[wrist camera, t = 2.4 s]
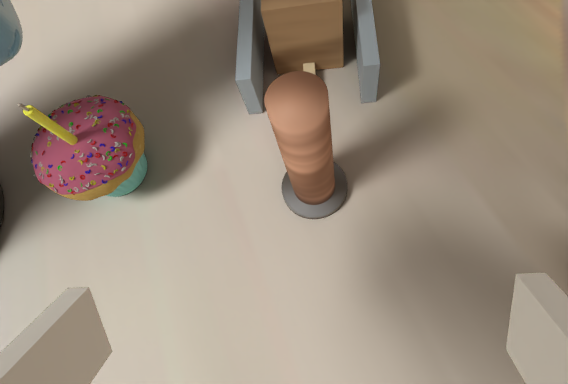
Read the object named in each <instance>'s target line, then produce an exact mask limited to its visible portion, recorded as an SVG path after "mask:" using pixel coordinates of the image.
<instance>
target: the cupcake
mask: <svg viewBox="0 0 568 384" xmlns="http://www.w3.org/2000/svg"><path fill="white" fill-rule="evenodd" d="M17 106H19V107H20V108H22V109H23V113H24V114H25V115H26V116H28V117H29V118H31V119H32V120H34V121H35V122H37V123H38V124H40V125H41V127H40V128H39V129H38V133H37V134H36V135H35V136H36V138H35V137H34V143H32V151H31V152H30V158H32V160H31V163H33V167H34V171H35V174H36V175H34V176H36V177H37V179H38V181H39V182H40V183H41V184H44V185H45V186H46V187H48V188H49V189H51V190H52V191H54V192H55V193H57V194H59V195H61V196H64V197H66V198H69V199H74V200H93V199H96V198H98V197H101V196H104V195H107V196H113V197H117V196H123V195H126V194H128V193H130V192H132V191H133V190H135V189H136V188H137V187H138V186H139V185H140V184H141V182H142V181H143V179H144V177H145V175H146V172H147V160H146V157H145V155H144V148H145V144H144V128H143V126H142V124H141V122H140V121H139V120H138V118H137V117H136V116H135V115H134V114H133V113H132V111H131V110H130V108H129V107H127V106H126V105H124V103H122V101H117V100H114V99H111V98H108V97H103V96H100V95H98V96H97V95H95V96H93V97H92V96H87V98H82V99H78V100H74V101H72V102H70V103H67V104H65V105H62V106H61V107H60V108H58V109H57V110H54V111H53V113H52V114H49V115H48V117H47V116H46V115H44V114H43V113H41V112H40V111H39V110H37V109H36V108H34V107H33V106H31V105H28V106H26V107H25V106H24V105H22V104H20V103H18V104H17Z"/></svg>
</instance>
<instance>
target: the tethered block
mask: <svg viewBox="0 0 568 384" xmlns="http://www.w3.org/2000/svg"><path fill="white" fill-rule="evenodd" d="M261 14H262V18H263V21H264V25H265V29H266V33H267V37H268V41H269V45H270V49H271V53H272V57H273V61H274V64H275V68H276V72H277V74H283V75H281V76H280V77H278V78H276V79H275V80H274V81H273V82H272V83H271V84H270V86H269V87H268V89H267V91H266V93H265V98H264V103H265V107H266V110H267V113H268V116H269V119H270V122H271V125H272V128H273V131H274V134H275V137H276V140H277V143H278V146H279V149H280V152H281V155H282V158H283V161H284V164H285V167H286V169H287V172H286V174H285V176H284V178H283V182H282V194H283V197H284V200H285V202H286V204H287V206H288V207H289V208H290V209H291V210H292V211H293V212H294V213H295V214H297V215H299V216H301V217H304V218H308V219H320V218H324V217H327V216H329V215H331V214H333V213H334V212H336V211H337V210H338V209H339V208H340V207H341V205H342V204H343V202H344V200H345V198H346V194H347V180H346V176H345V174H344V172H343V170H342V169H341V168H340V167H339V166H338V165H337V164H336V163H335V162H333V151H332V138H331V125H330V112H329V99H328V90H327V87H326V85H325V83H324V82H323V80H322V79H321V78H319V77H318V76H317V75H316V73H315V70H322V69H331V68H340V67H343V7H342V0H261Z"/></svg>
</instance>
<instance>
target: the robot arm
mask: <svg viewBox="0 0 568 384" xmlns="http://www.w3.org/2000/svg"><path fill="white" fill-rule="evenodd" d="M21 45H22V28H21V24H20V21H19V18H18V16H17V14H16V11H15V9H14V7H13V5H12V3H11V1H10V0H0V66H1V65H3V64H4V63H6V62H8V61H9V60H11V59H12V58H13V57H14V56H15V55H16V54H17V53H18V52H19V50H20V48H21ZM3 209H4V200H3V193H2V188H1V185H0V227H1V223H2V218H3ZM506 350H507V352H508V354H509V356H510V357H511V359H512V361H513V363H514V364H515V366H516V368H517V370H518V371H519V373H520V375H521V377H522V378H523V380H524V382H525V384H568V296H567V295H566V294H565V293H564V292H563V291H562V290H561V289H560V288H559V287H558V285H557V284H556V283H555V282H554V281H553V280H552V279H551V278H550V277H549V276H548V275H547V274H546V273H519V274H516V277H515V284H514V291H513V299H512V306H511V314H510V321H509V329H508V336H507V344H506ZM111 353H112V349H111V346H110V343H109V341H108V338H107V335H106V333H105V330H104V327H103V324H102V322H101V319H100V316H99V313H98V311H97V308H96V305H95V302H94V300H93V297H92V294H91V291H90V289H89V287H79V288H67V289H66V290H65V291H64V292H63V293H62V294H61V295H60V296H59V297H58V298H57V299H56V300H55V301H54V302H53V303H52V304H51V305H50V306H48V307H47V308H46V309H45V310H44V311H43V312H42V313H41V314H40V315H39V316H38V317H37V318H36V319H35V320H34V321H33V322H32V323H31V324H30V325H29V326H28V327H27V328H26V329H24V330H23V331H22V332H21V333H20V334H19V335H18V336H17V337H16V338H15V339H14V340H13V341H12V342H11V343H10V344H9V345H8V346H7V347H6V348H5V349H4V350H3V351H2V352H0V384H90V383H91V382H92V380H93V379H94V377H95V376H96V374H97V373H98V371H99V370H100V368H101V367H102V366H103V364H104V363H105V361H106V360H107V358H108V357H109V355H110V354H111Z"/></svg>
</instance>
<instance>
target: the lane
mask: <svg viewBox="0 0 568 384" xmlns="http://www.w3.org/2000/svg"><path fill="white" fill-rule="evenodd" d="M351 9H352V18H353V28H354V37H355V47H356V56H357V66H358V76H359V85H360V95H361V103H368V102H376V97H377V88H378V79H379V70H380V60H379V52H378V45H377V37H376V30H375V23H374V15H373V8H372V0H351ZM263 71H264V21H263V18H262V14H261V0H240V6H239V24H238V41H237V59H236V76H235V81H236V83H237V86H238V88H239V91H240V93H241V95H242V98H243V100H244V103H245V105H246V107H247V110H248V112H249V114H255V113H263Z"/></svg>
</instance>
